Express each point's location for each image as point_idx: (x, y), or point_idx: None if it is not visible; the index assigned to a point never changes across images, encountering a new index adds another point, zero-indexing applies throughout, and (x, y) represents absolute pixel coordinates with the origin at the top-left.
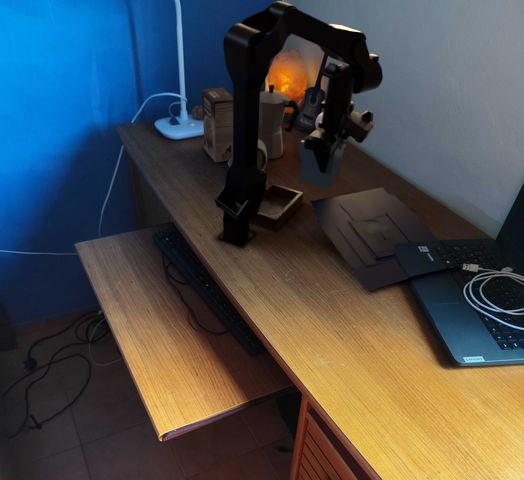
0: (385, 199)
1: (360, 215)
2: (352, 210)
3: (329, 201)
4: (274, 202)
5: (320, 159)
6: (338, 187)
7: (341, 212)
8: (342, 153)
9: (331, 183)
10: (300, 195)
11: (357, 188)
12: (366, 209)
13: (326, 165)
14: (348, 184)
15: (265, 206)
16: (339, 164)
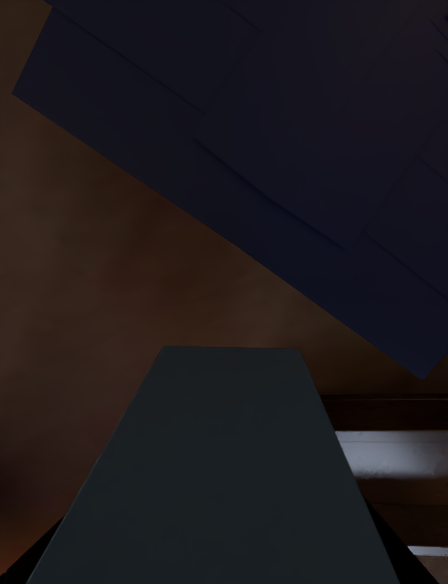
0: (118, 9)
1: (399, 72)
2: (377, 142)
3: (362, 298)
4: (363, 473)
5: None
6: (92, 333)
7: (423, 194)
8: (97, 530)
9: (277, 361)
10: (339, 430)
11: (40, 266)
12: (315, 67)
13: (392, 535)
14: (41, 310)
15: (405, 485)
16: (171, 428)
